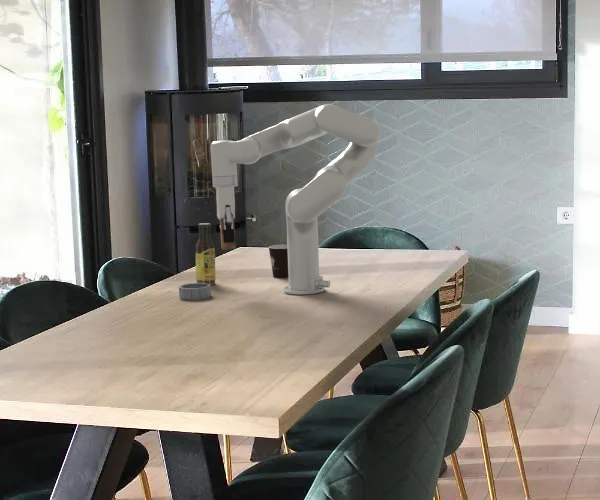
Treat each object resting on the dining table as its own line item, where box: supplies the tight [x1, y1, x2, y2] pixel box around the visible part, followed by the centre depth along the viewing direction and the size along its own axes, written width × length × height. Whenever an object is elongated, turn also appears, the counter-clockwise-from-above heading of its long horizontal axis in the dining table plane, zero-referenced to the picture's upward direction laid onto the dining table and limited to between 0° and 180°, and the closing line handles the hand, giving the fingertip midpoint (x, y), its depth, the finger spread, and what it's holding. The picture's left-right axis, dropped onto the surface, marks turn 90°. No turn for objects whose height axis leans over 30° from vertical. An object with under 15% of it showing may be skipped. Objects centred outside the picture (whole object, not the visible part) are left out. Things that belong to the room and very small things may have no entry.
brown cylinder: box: [219, 215, 236, 251], centre depth 340 cm, size 4×4×10 cm
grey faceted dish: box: [178, 282, 212, 301], centre depth 341 cm, size 10×10×3 cm
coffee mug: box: [268, 244, 289, 279], centre depth 372 cm, size 12×9×10 cm
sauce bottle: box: [195, 222, 216, 286], centre depth 360 cm, size 6×6×20 cm
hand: (228, 240), depth 340 cm, fingers closed on brown cylinder, 4 cm apart
